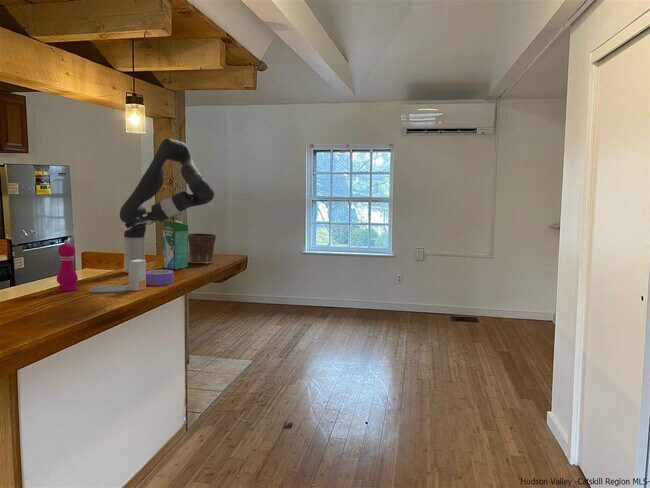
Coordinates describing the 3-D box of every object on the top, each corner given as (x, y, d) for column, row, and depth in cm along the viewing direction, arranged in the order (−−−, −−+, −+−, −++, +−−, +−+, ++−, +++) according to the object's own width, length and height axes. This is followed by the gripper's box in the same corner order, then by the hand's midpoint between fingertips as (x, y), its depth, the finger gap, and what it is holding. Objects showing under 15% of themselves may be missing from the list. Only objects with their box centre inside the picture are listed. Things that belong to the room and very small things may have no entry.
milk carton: (188, 267, 249) (188, 220, 246) (174, 269, 241) (174, 221, 238) (176, 265, 253) (176, 219, 251) (162, 267, 246) (162, 220, 243)
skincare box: (137, 291, 188) (137, 261, 187) (128, 290, 189) (128, 261, 188) (146, 288, 194) (146, 259, 193) (137, 287, 195) (137, 259, 194)
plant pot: (222, 262, 270) (222, 235, 268) (201, 266, 256) (201, 236, 255) (202, 259, 279) (202, 232, 277) (180, 262, 265) (180, 234, 263)
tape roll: (142, 285, 201) (142, 273, 200) (148, 280, 212) (148, 269, 212) (171, 285, 203) (171, 274, 202) (175, 280, 214) (175, 269, 214)
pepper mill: (82, 289, 188) (81, 239, 186) (66, 292, 181) (65, 241, 179) (68, 287, 190) (67, 238, 188) (52, 290, 183) (51, 239, 181)
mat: (94, 287, 193) (94, 285, 192) (128, 286, 196) (128, 285, 196) (88, 293, 181) (88, 291, 181) (125, 292, 185) (125, 291, 185)
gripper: (168, 202, 197) (134, 219, 198) (155, 199, 183) (118, 217, 183) (176, 218, 197) (141, 235, 198) (164, 216, 183) (127, 234, 183)
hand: (130, 226), depth 191 cm, fingers open, 8 cm apart
